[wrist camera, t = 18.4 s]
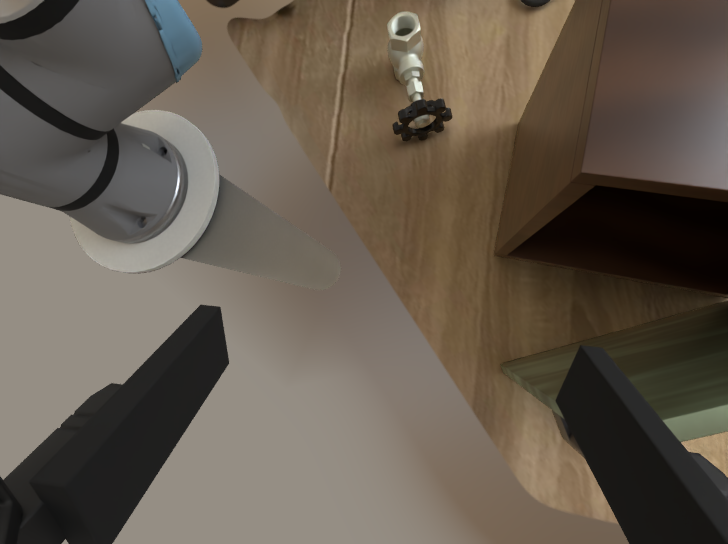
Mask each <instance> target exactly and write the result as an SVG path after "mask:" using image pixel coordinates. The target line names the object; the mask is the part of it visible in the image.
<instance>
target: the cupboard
mask: <svg viewBox="0 0 728 544" xmlns="http://www.w3.org/2000/svg"><path fill="white" fill-rule="evenodd" d="M493 255H494V256H500V257H505V258H511V259H516V260H522V261H527V262H533V263H538V264H544V265H550V266H555V267H561V268H566V269H572V270H577V271H583V272H588V273H594V274H600V275H605V276H611V277H616V278H622V279H627V280H633V281H638V282H644V283H650V284H655V285H661V286H666V287H672V288H677V289H683V290H688V291H694V292H700V293H705V294H711V295H716V296H722V297H727V298H728V0H576V1H575V3H574V5H573V7H572V9H571V11H570V13H569V16H568V18H567V20H566V22H565V24H564V26H563V29H562V31H561V33H560V35H559V37H558V39H557V41H556V44H555V46H554V48H553V50H552V52H551V54H550V57H549V59H548V61H547V63H546V65H545V67H544V69H543V72H542V74H541V76H540V78H539V80H538V82H537V85H536V87H535V89H534V91H533V93H532V95H531V97H530V100H529V102H528V104H527V106H526V108H525V110H524V113H523V115H522V117H521V119H520V121H519V124H518V129H517V135H516V140H515V145H514V150H513V156H512V161H511V166H510V171H509V176H508V182H507V187H506V192H505V197H504V202H503V208H502V213H501V218H500V223H499V228H498V234H497V239H496V244H495V249H494V254H493Z"/></svg>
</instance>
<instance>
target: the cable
mask: <svg viewBox="0 0 728 544" xmlns="http://www.w3.org/2000/svg"><path fill="white" fill-rule="evenodd" d="M549 1H550V0H521V2H522V3H524V4H525V5H528V6H531V7H539V6H542V5H544V4H546V3H547V2H549Z"/></svg>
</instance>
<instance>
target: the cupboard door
mask: <svg viewBox="0 0 728 544" xmlns="http://www.w3.org/2000/svg"><path fill="white" fill-rule="evenodd" d="M580 345H582V346H592V347H601V348H603V349H604V350H605V351H606V353H607V354H608V355H609V356H610V357H611V359H612V360H613V361H614V362H615V363H616V365H617V366H618V367H619V368H620V370H621V371H622V372H623V373H624V374H625V376H626V377H627V378H628V379H629V380H630V382H631V383H632V384H633V385H634V387H635V388H636V389H637V390H638V391H639V393H640V394H641V395H642V396H643V397H644V399H645V400H646V401H647V402H648V404H649V405H650V406H651V407H652V408H653V410H654V411H655V412H656V413H657V414H658V416H659V417H660V418H661V419H662V420H663V422H664V423H665V424H666V425H667V427H668V428H669V429H670V430H671V431H672V433H673V434H674V435H675V436H676V437H677V439H678V440H679V441H680V442H683V441H688V440H692V439H696V438H701V437H705V436H709V435H714V434H718V433H723V432H727V431H728V301H725V302H721V303H718V304H714V305H711V306H707V307H703V308H700V309H696V310H693V311H689V312H685V313H682V314H678V315H675V316H671V317H667V318H664V319H660V320H657V321H653V322H650V323H646V324H642V325H639V326H635V327H632V328H628V329H624V330H621V331H617V332H614V333H610V334H607V335H603V336H599V337H596V338H592V339H589V340H585V341H581V342H578V343H574V344H571V345H567V346H563V347H560V348H556V349H553V350H549V351H546V352H542V353H538V354H535V355H531V356H528V357H524V358H520V359H517V360H513V361H510V362H506V363H503V364H500V365H501V368H502V370H503V373H504V374H505V375H507V376H508V377H509V378H511V379H512V380H513V381H515V382H516V383H517V384H519V385H520V386H521V387H523V388H524V389H525V390H527V391H528V392H529V393H531V394H532V395H533V396H534V397H536V398H537V399H538V400H540V401H541V402H542V403H544V404H545V405H546V406H548V407H549V408H550V409H552V412H553V415H554V417H555V420H556V423H557V425H558V428H559V430H560V433H561V435H562V437H563V439H564V440H565V441H566V442H567V443H569V444H570V445H571V446H572V447H573V448H574V449H575V450H576V451H577V452H578V453H580V454H581V455H582V456H583V457H584V455H583V453H582V451H581V450H580V448H579V446H578V444H577V442H576V440H575V438H574V436H573V434H572V432H571V430H570V428H569V426H568V425H567V423H566V421H565V419H564V417H563V415H562V413H561V411H560V409H559V407H558V405H557V403H556V402H555V400H556V398H557V395H558V393H559V391H560V389H561V387H562V384H563V382H564V380H565V378H566V376H567V373H568V371H569V369H570V367H571V364H572V362H573V360H574V358H575V356H576V353H577V351H578V349H579V347H580ZM584 458H585V457H584Z"/></svg>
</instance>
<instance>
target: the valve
mask: <svg viewBox="0 0 728 544" xmlns="http://www.w3.org/2000/svg"><path fill="white" fill-rule="evenodd" d="M387 28H388V35H389V39H390V40H389V43H388V57H389V60H390V62H391V63H392V65H393V68H394V73H395V78H396V79H397V80H399V82H400V83H401V84H402V85H406V86H407V93H408V97H409V101H411V102H413V103H412V104H411V105H410V106H409V107H406V108H405V109H402V110H400V111H399V112H398V117H399V121H400V123H402V124H401V125H398V123H397V122H395V123H394V124H393V130H394V134H396V135H398V134H401V136H402V140H403V141H408V140H410V139H411V137H412V136H418V138H419V140H425V139H426V138H427V137H428V135H427V133H429V132H431V131H435V132H437V133H438V132H441V131H443V130H444V125H443V121H445V122H446V121H449V120H451V119H452V113H451V109H450V108H446V106H445V102H444V100H443V99H438V100H436V101H433V100H430V101H426V100H424V99H422V98H423V97H424V93H423V88H422V83H421V82H420V80H421V79H422V78H423V76H424V68H423V64H422V62H421V58H422V55H423V51H424V44H423V39H422V37H421V29H420V24H419V20H418V16H417V14H415V13H411V12H399V13H398V14H396V15H395V16H394V17H393V18H392V19H391V20H390V21H389V22H388V23H387ZM432 106H433V107H432ZM445 110H446V112H444V111H445ZM442 112H444V113H442ZM408 113H409V114H408ZM429 115H434V116H436V119H435V120H434V121H433V122H432V123H431V124H430V125H428V124H429ZM411 121H414V122H415V127H417V128H418V129H413V128H410V127H408V125H409V124H410V122H411ZM427 125H428V126H427ZM425 126H426V127H425Z"/></svg>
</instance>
